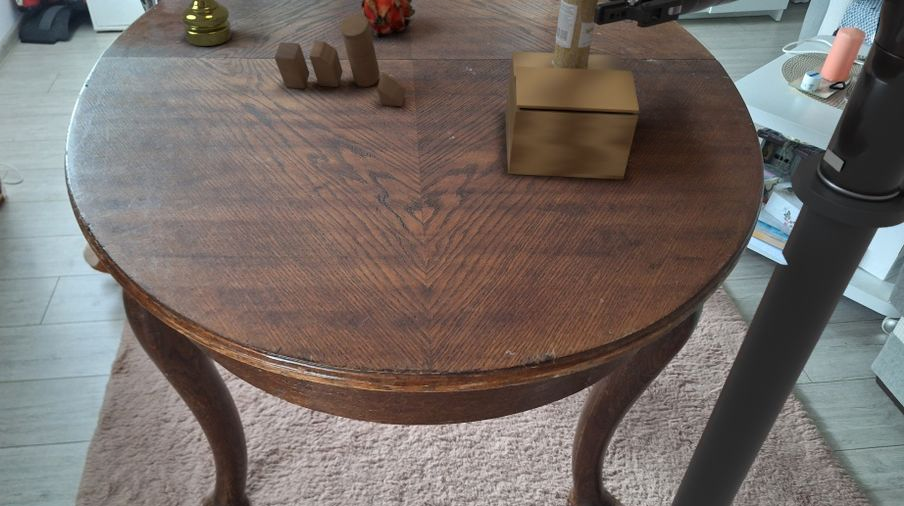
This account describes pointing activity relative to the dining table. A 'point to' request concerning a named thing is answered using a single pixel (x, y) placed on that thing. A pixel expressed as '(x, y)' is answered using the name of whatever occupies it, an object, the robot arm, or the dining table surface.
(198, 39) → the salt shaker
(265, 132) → the dining table surface
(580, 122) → the carton
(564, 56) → the sprinkles bottle
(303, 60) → the wooden block set
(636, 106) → the flap
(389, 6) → the dragon fruit
